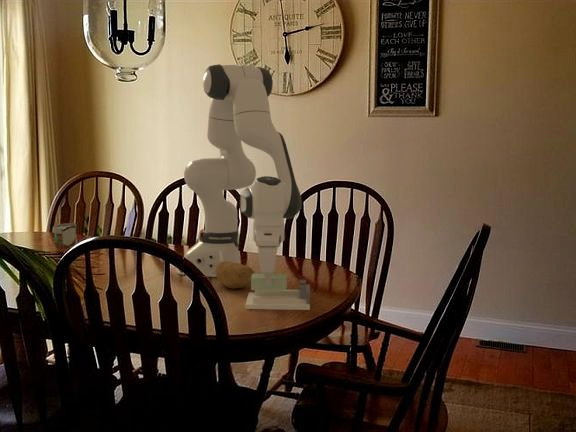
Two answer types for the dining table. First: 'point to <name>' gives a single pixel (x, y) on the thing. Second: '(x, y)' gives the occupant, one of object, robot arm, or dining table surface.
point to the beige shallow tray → (280, 299)
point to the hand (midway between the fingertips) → (268, 281)
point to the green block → (277, 283)
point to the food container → (65, 235)
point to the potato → (233, 274)
